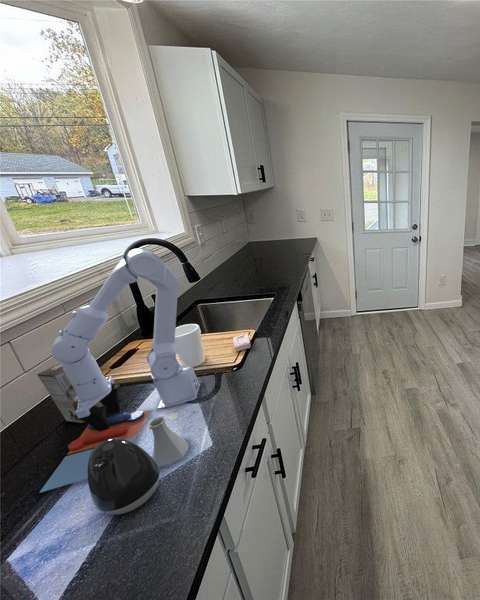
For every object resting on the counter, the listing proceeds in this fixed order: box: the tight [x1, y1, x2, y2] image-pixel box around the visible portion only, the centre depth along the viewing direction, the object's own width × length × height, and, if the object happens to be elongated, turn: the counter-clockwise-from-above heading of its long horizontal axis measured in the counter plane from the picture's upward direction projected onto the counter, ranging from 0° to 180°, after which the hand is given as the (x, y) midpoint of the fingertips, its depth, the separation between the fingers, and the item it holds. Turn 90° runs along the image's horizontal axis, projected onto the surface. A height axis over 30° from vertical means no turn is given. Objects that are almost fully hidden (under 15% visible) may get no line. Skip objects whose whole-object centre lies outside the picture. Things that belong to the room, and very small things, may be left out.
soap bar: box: [232, 333, 252, 352], centre depth 120 cm, size 5×9×2 cm, turn 29°
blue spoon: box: [87, 410, 144, 430], centre depth 84 cm, size 12×4×2 cm, turn 112°
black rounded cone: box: [87, 437, 161, 515], centre depth 61 cm, size 10×10×15 cm
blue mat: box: [38, 436, 137, 494], centre depth 72 cm, size 14×10×1 cm
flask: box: [147, 416, 190, 468], centre depth 72 cm, size 7×7×10 cm
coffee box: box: [36, 362, 103, 424], centre depth 86 cm, size 9×6×16 cm
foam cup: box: [174, 323, 206, 368], centre depth 108 cm, size 10×9×13 cm
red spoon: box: [67, 425, 127, 451], centre depth 78 cm, size 12×4×2 cm, turn 112°
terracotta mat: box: [66, 410, 150, 456], centre depth 82 cm, size 14×10×1 cm
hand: (109, 420), depth 83 cm, fingers open, 6 cm apart
